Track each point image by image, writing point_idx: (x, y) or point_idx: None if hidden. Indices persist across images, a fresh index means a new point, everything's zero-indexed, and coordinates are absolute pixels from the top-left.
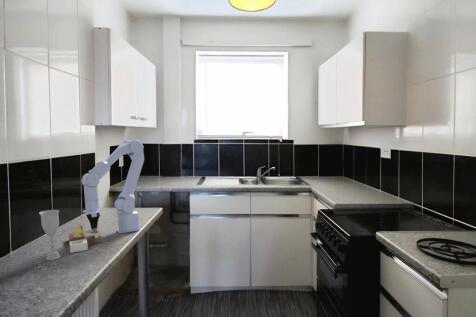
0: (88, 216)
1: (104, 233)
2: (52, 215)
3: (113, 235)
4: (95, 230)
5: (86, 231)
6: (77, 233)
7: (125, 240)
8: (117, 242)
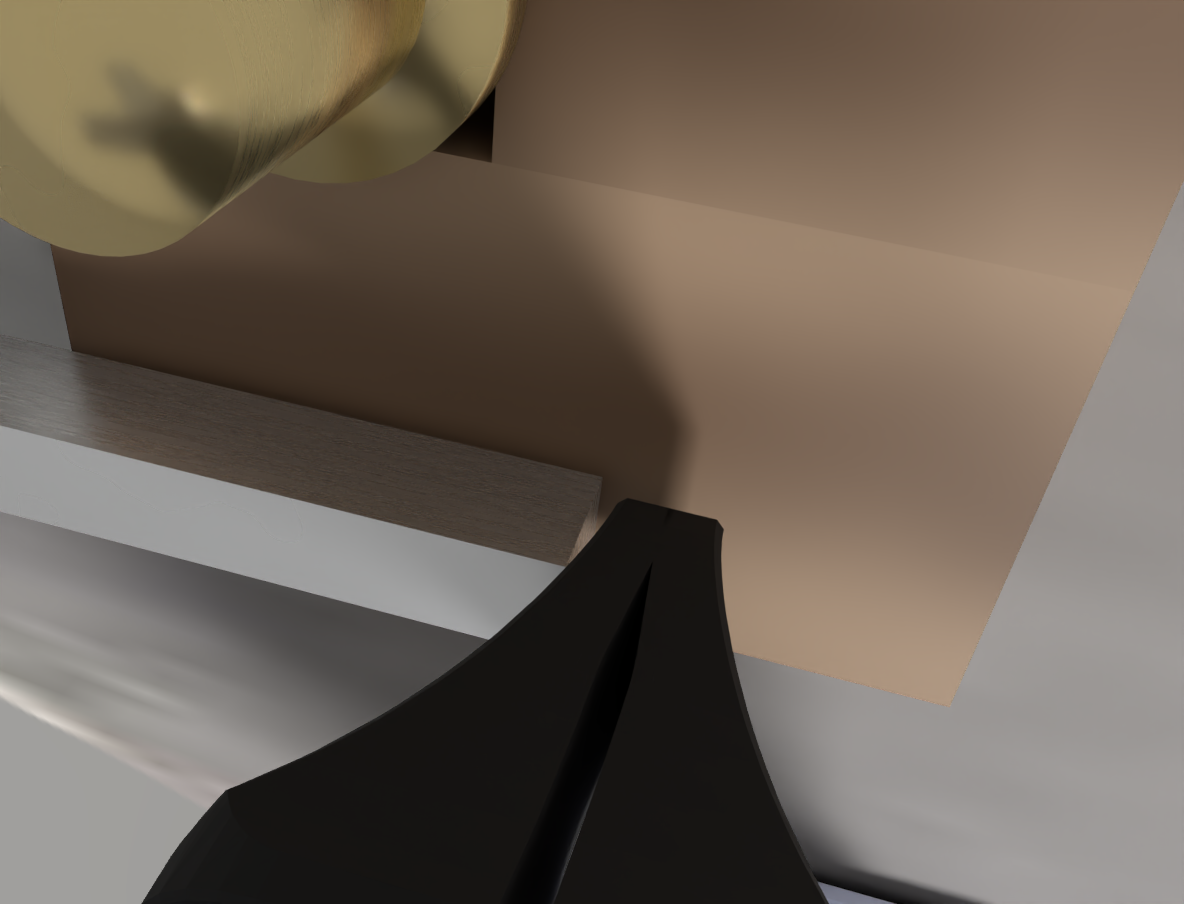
0: (148, 896)
1: (992, 701)
2: None
3: None
4: (119, 503)
5: (943, 363)
6: None
7: (116, 701)
8: (51, 581)
